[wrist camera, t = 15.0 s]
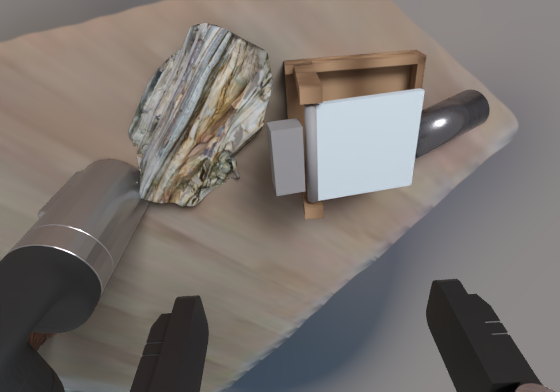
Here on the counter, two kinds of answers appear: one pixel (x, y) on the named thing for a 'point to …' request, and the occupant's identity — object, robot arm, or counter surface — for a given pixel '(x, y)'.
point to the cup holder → (38, 339)
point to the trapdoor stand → (346, 87)
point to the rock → (200, 115)
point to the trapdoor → (347, 146)
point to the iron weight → (450, 119)
